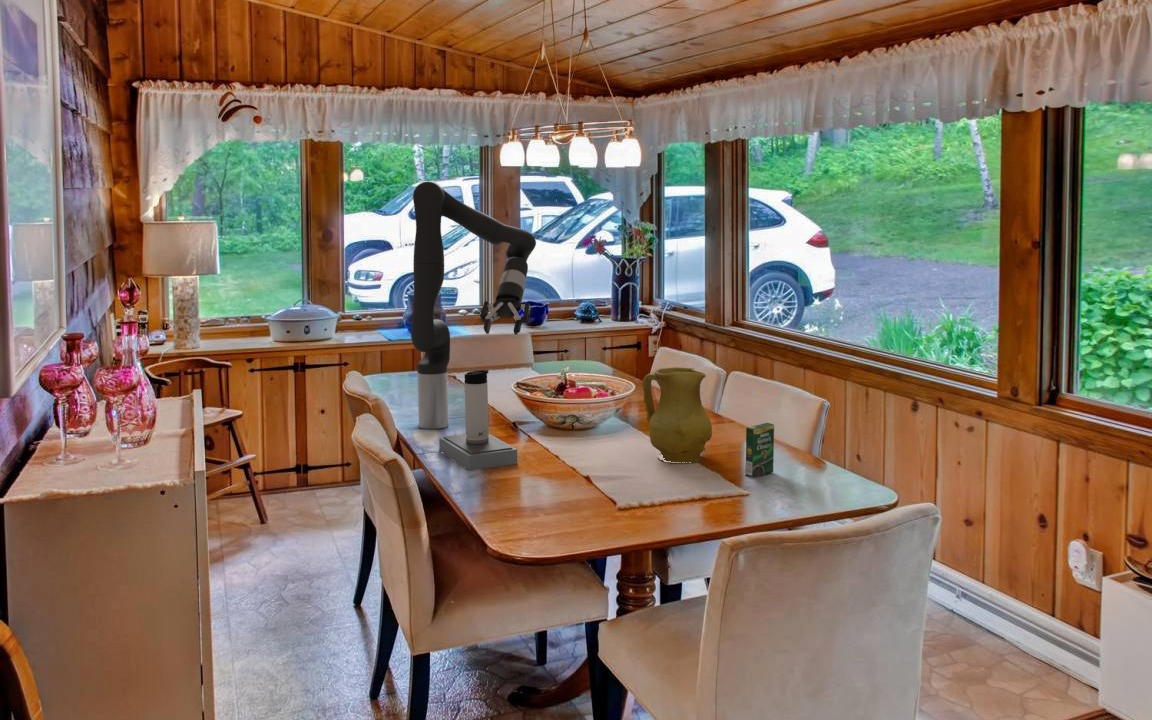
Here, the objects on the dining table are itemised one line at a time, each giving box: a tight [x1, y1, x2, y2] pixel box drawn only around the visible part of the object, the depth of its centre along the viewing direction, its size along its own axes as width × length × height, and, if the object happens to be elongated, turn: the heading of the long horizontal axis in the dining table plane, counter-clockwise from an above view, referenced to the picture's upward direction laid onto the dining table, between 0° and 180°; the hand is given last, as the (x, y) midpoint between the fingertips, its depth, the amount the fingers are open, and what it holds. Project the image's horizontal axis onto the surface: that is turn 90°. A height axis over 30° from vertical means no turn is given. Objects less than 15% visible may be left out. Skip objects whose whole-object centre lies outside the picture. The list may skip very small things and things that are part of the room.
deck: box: [438, 433, 518, 472], centre depth 272 cm, size 22×14×4 cm, turn 28°
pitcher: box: [642, 366, 713, 464], centre depth 271 cm, size 17×19×25 cm
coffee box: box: [744, 422, 775, 479], centre depth 255 cm, size 8×3×13 cm, turn 126°
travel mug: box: [463, 369, 490, 444], centre depth 270 cm, size 6×7×20 cm
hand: (501, 332), depth 283 cm, fingers open, 8 cm apart
